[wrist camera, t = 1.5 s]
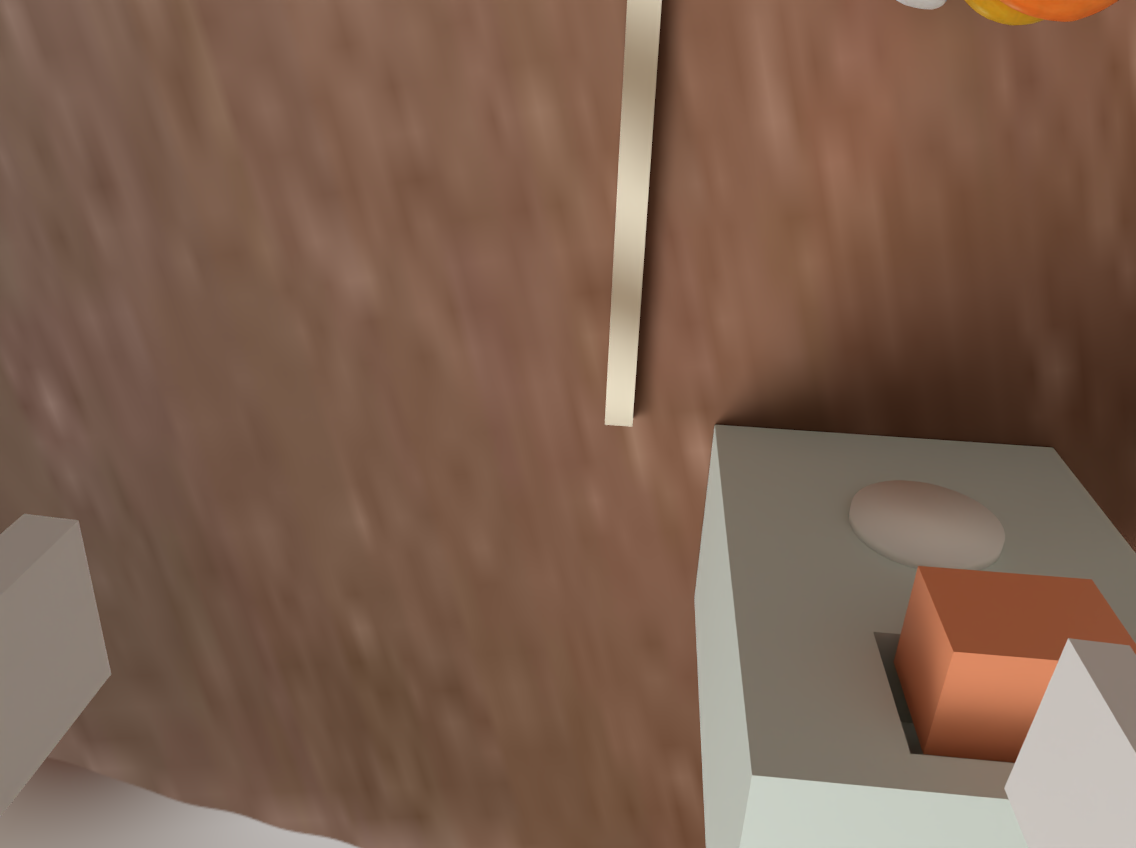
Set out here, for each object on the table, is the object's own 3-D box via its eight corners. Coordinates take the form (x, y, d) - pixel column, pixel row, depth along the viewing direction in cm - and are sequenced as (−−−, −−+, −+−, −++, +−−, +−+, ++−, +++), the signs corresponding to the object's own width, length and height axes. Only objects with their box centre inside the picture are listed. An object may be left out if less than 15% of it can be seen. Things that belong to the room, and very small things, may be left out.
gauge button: (918, 565, 22) (953, 651, 19) (1092, 579, 21) (1152, 668, 19) (893, 661, 23) (923, 754, 20) (1056, 675, 23) (1108, 771, 20)
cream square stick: (655, -504, 22) (654, -516, 21) (696, -505, 22) (697, -516, 21) (605, 417, 33) (604, 424, 33) (632, 418, 33) (632, 426, 33)
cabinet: (715, 414, 33) (754, 761, 19) (1056, 437, 32) (1362, 818, 18) (694, 598, 37) (713, 999, 23) (997, 622, 36) (1211, 1055, 22)
